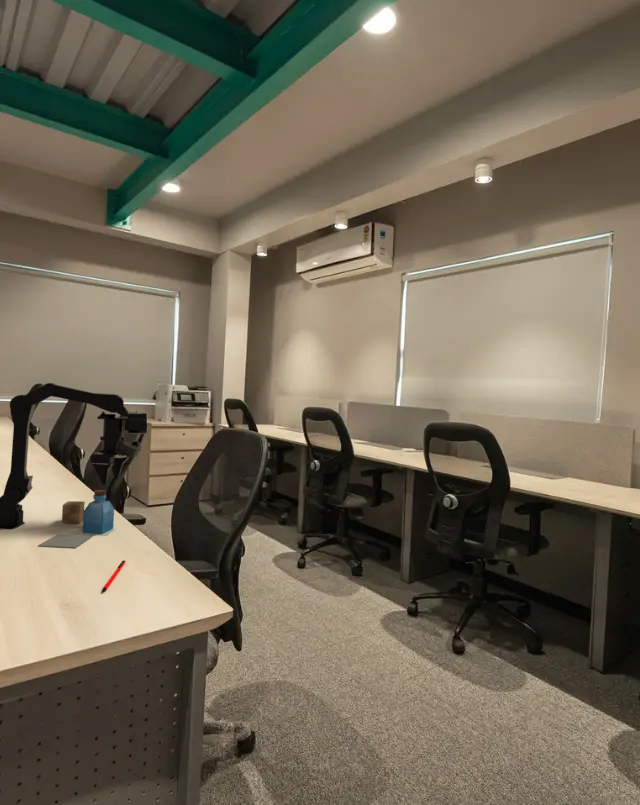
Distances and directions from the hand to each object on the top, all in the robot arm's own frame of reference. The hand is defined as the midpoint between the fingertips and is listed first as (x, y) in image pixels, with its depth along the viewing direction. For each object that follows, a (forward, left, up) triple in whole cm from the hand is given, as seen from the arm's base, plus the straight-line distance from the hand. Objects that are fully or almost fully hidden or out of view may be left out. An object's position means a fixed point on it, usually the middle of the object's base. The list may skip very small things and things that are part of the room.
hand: (110, 481), depth 157 cm
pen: (+19, -43, -14) cm, 49 cm away
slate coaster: (-3, -21, -13) cm, 25 cm away
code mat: (+1, -10, -13) cm, 16 cm away
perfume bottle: (+1, -10, -13) cm, 16 cm away
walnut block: (-10, -3, -13) cm, 17 cm away
